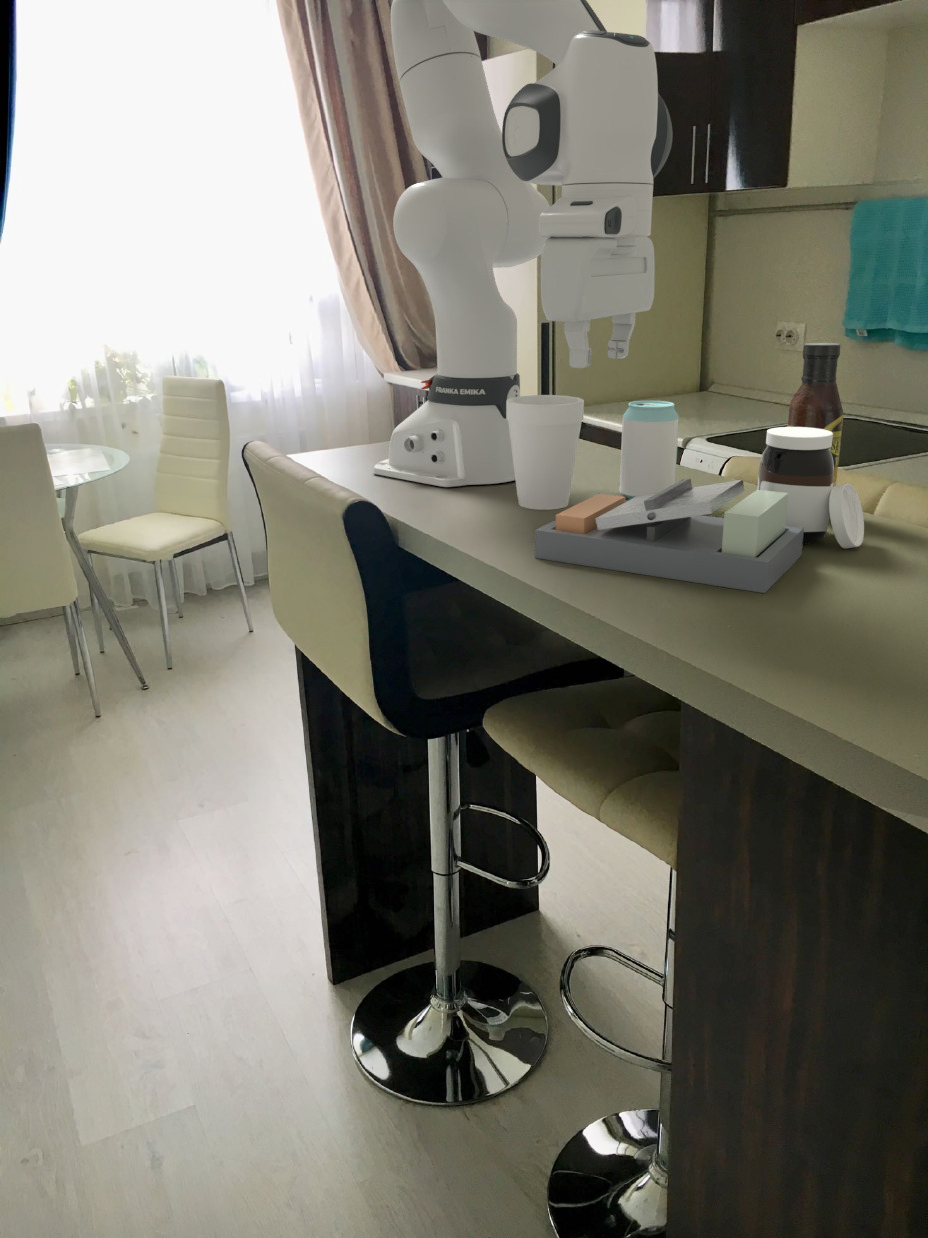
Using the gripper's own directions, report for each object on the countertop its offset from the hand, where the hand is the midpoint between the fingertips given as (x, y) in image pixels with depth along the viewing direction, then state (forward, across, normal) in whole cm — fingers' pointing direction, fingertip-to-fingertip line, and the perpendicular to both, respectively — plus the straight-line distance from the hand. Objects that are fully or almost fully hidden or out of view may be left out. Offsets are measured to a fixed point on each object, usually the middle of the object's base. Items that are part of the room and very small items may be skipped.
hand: (599, 362), depth 104 cm
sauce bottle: (+20, -25, +17) cm, 36 cm away
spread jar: (+19, -13, +20) cm, 31 cm away
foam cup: (+20, -14, -13) cm, 28 cm away
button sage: (+16, +1, +18) cm, 24 cm away
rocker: (+14, +1, +9) cm, 16 cm away
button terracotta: (+19, +1, 0) cm, 19 cm away
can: (+20, -24, -3) cm, 31 cm away
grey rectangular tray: (+19, +1, +9) cm, 21 cm away
